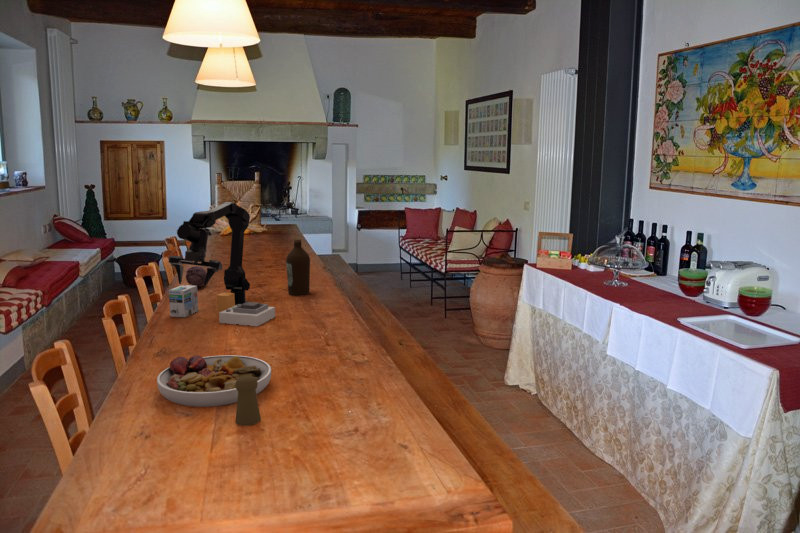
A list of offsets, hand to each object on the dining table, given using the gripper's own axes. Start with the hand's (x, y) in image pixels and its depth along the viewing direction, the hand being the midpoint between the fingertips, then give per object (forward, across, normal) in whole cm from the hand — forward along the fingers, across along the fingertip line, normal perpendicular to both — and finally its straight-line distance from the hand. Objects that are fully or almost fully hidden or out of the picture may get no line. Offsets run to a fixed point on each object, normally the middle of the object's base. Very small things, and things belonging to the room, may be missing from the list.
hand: (192, 285), depth 241 cm
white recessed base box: (+10, +21, +6) cm, 24 cm away
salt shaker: (+38, +40, -82) cm, 99 cm away
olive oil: (-6, +35, +48) cm, 60 cm away
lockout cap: (+8, +11, +16) cm, 21 cm away
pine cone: (-4, -14, +64) cm, 66 cm away
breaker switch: (+7, +22, +4) cm, 24 cm away
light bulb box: (+10, -6, +16) cm, 20 cm away
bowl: (+33, +27, -62) cm, 75 cm away
